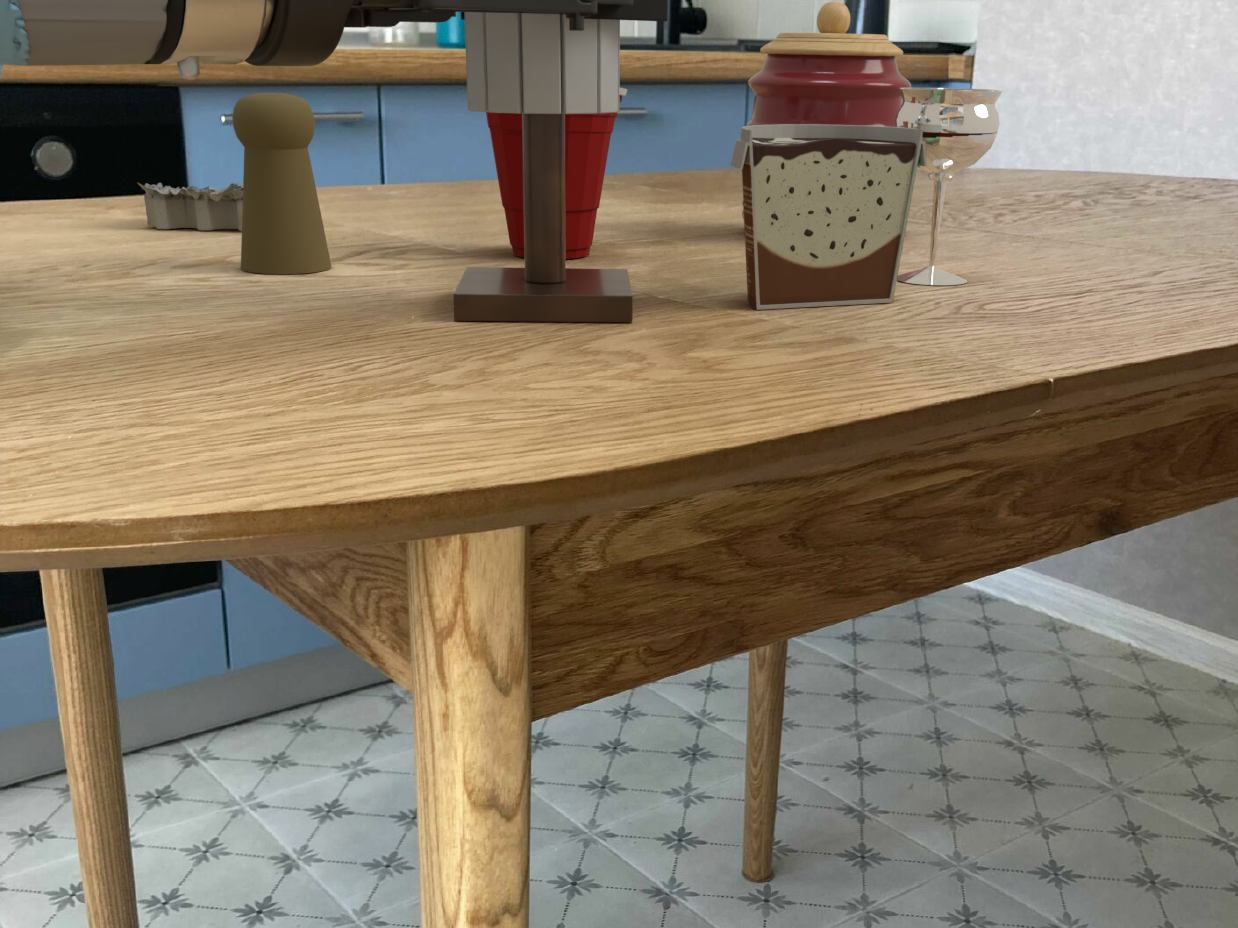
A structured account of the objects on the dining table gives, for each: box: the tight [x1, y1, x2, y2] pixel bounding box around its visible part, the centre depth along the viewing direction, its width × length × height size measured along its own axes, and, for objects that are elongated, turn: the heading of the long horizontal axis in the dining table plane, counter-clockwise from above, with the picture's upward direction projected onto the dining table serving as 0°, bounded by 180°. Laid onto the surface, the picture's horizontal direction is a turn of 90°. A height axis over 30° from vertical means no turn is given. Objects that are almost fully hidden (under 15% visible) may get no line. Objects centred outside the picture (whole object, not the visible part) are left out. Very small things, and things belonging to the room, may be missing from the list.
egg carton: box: [136, 182, 243, 233], centre depth 111 cm, size 11×8×4 cm
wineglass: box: [894, 87, 1003, 286], centre depth 90 cm, size 7×7×12 cm
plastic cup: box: [485, 87, 628, 260], centre depth 98 cm, size 11×11×12 cm
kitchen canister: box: [741, 1, 912, 232], centre depth 110 cm, size 13×13×18 cm
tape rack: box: [452, 113, 634, 324], centre depth 78 cm, size 10×10×14 cm
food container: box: [730, 124, 927, 311], centre depth 83 cm, size 12×6×10 cm, turn 111°
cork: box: [231, 92, 332, 275], centre depth 90 cm, size 6×6×11 cm
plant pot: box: [464, 12, 621, 114], centre depth 74 cm, size 8×8×8 cm
